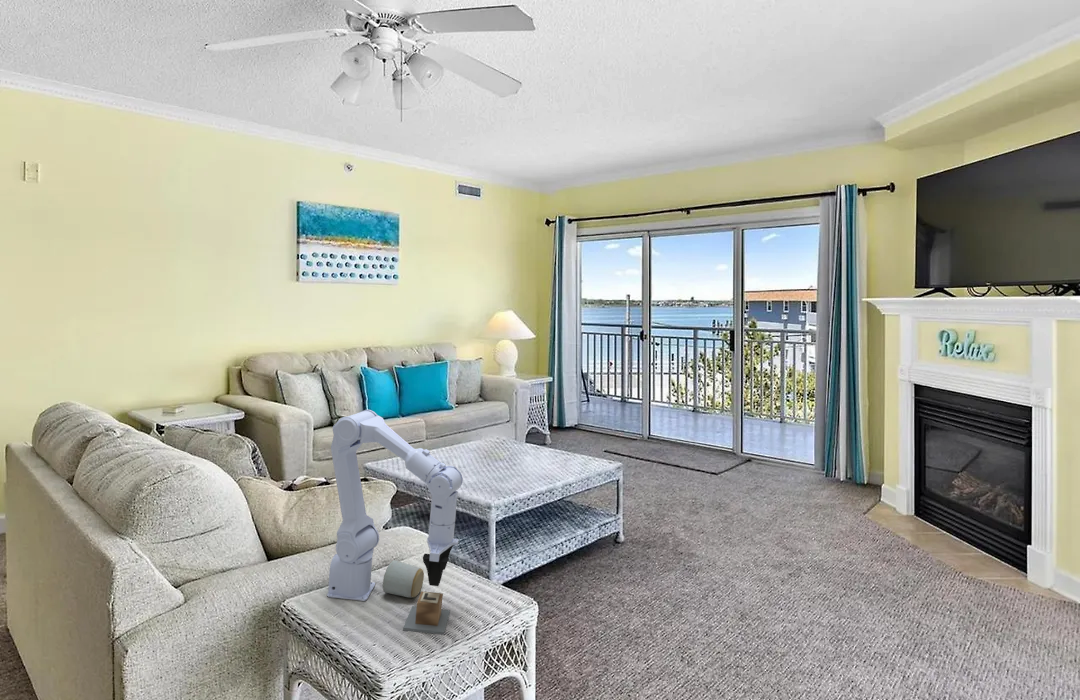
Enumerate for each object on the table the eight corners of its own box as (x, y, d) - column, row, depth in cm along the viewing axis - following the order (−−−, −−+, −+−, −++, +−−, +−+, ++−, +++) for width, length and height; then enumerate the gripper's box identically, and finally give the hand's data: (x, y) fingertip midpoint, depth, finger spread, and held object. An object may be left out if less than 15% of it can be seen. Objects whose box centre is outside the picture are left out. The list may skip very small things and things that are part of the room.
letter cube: (415, 623, 140) (417, 601, 139) (419, 611, 145) (421, 589, 144) (437, 625, 140) (439, 603, 139) (441, 613, 145) (443, 592, 144)
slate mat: (403, 630, 138) (403, 627, 138) (412, 608, 147) (412, 605, 147) (443, 634, 138) (443, 631, 138) (450, 612, 147) (450, 609, 147)
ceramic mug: (412, 604, 149) (415, 574, 148) (380, 598, 150) (383, 567, 149) (428, 584, 159) (431, 555, 158) (398, 578, 160) (400, 549, 159)
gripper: (454, 536, 135) (449, 594, 137) (464, 510, 149) (459, 563, 151) (422, 532, 135) (417, 591, 137) (435, 507, 149) (430, 560, 151)
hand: (437, 576), depth 144 cm, fingers open, 7 cm apart
